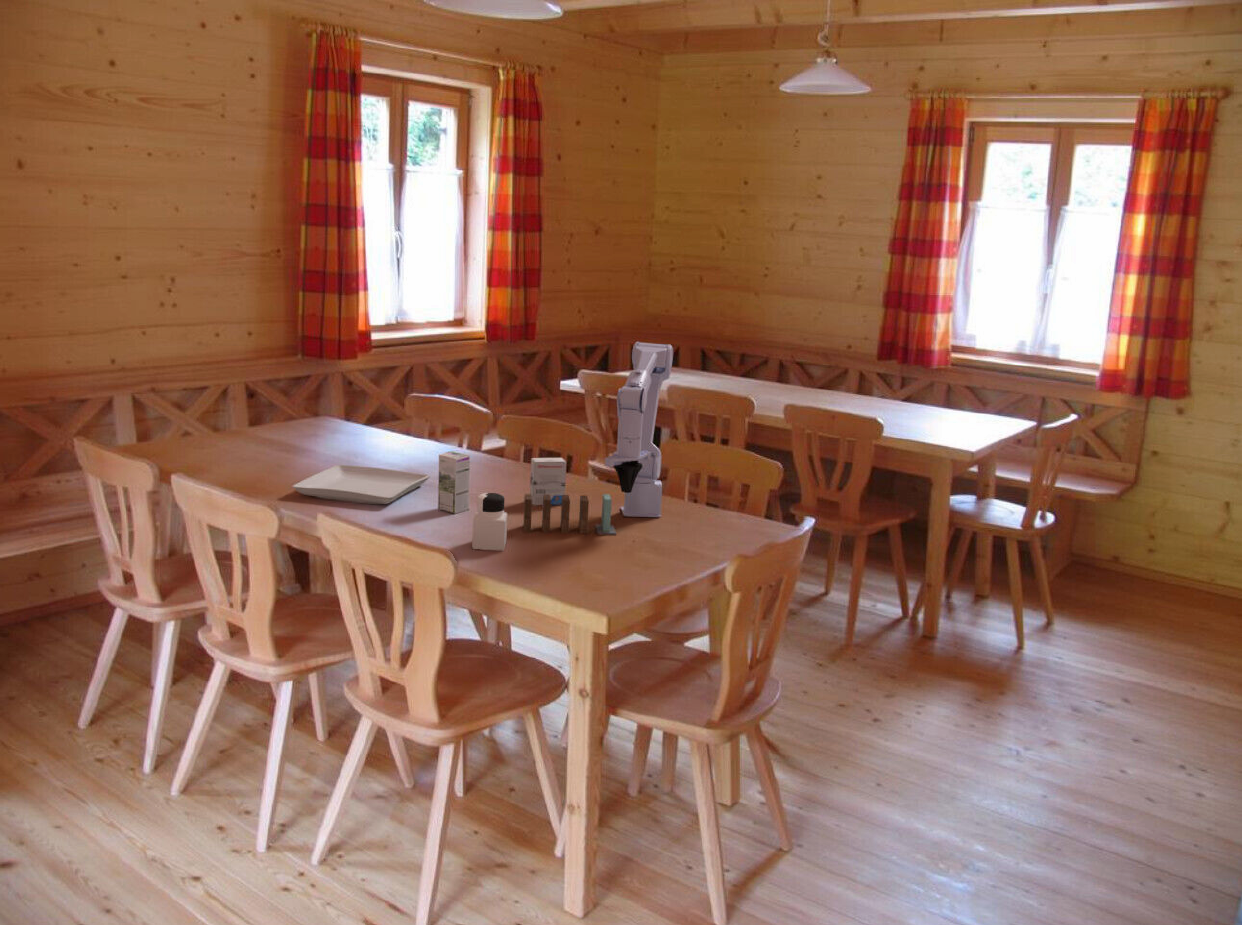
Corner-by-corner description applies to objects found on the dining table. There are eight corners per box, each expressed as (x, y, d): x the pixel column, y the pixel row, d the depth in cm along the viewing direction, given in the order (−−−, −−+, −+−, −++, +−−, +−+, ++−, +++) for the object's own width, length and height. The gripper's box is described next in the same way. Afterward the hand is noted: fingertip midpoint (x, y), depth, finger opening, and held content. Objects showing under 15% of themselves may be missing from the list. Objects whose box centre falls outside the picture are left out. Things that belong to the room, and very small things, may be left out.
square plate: (391, 511, 272) (391, 496, 271) (289, 499, 277) (289, 484, 276) (431, 486, 298) (431, 472, 297) (337, 476, 303) (337, 462, 302)
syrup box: (469, 509, 276) (471, 453, 273) (454, 514, 271) (455, 457, 268) (452, 505, 279) (453, 450, 276) (436, 510, 274) (438, 453, 271)
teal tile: (607, 525, 268) (609, 494, 266) (609, 531, 263) (611, 499, 261) (601, 525, 268) (602, 494, 266) (603, 531, 263) (604, 499, 261)
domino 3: (567, 526, 267) (568, 495, 265) (568, 532, 262) (570, 500, 260) (560, 526, 266) (561, 494, 265) (561, 532, 262) (563, 500, 260)
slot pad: (612, 526, 269) (613, 524, 269) (616, 534, 262) (616, 533, 262) (595, 526, 269) (595, 524, 268) (597, 534, 262) (598, 532, 262)
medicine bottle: (506, 541, 252) (508, 491, 249) (504, 551, 245) (505, 499, 242) (475, 540, 252) (476, 490, 249) (472, 549, 245) (473, 498, 242)
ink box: (560, 500, 290) (562, 457, 288) (564, 505, 286) (567, 461, 283) (528, 500, 288) (530, 457, 286) (532, 505, 283) (534, 461, 281)
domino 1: (530, 525, 266) (531, 494, 264) (530, 531, 261) (532, 499, 259) (523, 525, 265) (524, 493, 264) (524, 531, 260) (525, 499, 259)
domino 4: (585, 527, 267) (586, 495, 265) (587, 533, 262) (588, 501, 261) (578, 527, 267) (580, 495, 265) (580, 533, 262) (582, 500, 260)
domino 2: (548, 526, 266) (549, 494, 264) (549, 532, 261) (551, 500, 259) (541, 526, 266) (543, 494, 264) (542, 532, 261) (544, 499, 259)
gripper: (637, 430, 269) (633, 484, 272) (596, 437, 258) (593, 492, 261) (659, 435, 264) (655, 490, 267) (618, 442, 253) (615, 499, 256)
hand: (626, 491), depth 264 cm, fingers closed
